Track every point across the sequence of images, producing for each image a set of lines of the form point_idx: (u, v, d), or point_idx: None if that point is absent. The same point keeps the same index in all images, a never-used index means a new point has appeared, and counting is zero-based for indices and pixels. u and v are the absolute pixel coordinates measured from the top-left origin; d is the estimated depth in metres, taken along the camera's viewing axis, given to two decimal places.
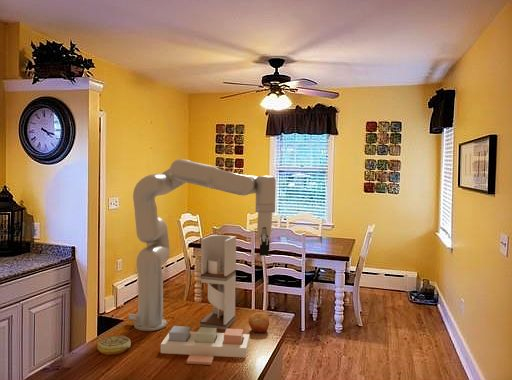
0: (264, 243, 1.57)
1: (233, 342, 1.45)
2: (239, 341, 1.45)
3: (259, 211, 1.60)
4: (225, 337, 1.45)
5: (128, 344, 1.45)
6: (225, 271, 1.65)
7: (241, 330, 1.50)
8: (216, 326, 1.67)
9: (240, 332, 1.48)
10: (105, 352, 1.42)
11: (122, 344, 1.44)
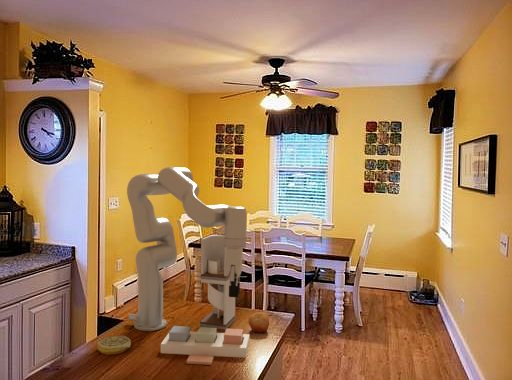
0: (233, 284, 1.44)
1: (233, 342, 1.45)
2: (239, 341, 1.45)
3: (227, 246, 1.44)
4: (225, 337, 1.45)
5: (128, 344, 1.45)
6: None
7: (241, 330, 1.50)
8: (216, 326, 1.67)
9: (240, 332, 1.48)
10: (105, 352, 1.42)
11: (122, 344, 1.44)
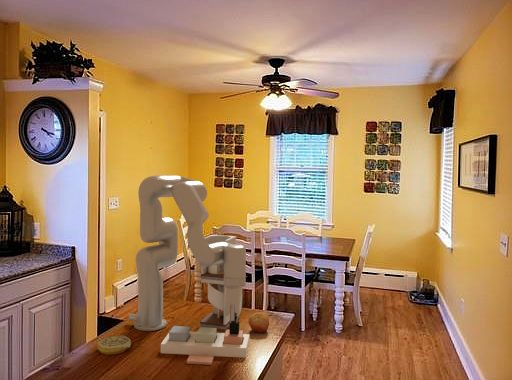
0: (234, 322, 1.45)
1: (233, 343, 1.45)
2: (239, 342, 1.45)
3: (227, 286, 1.44)
4: (225, 338, 1.45)
5: (128, 344, 1.46)
6: None
7: (241, 331, 1.50)
8: (216, 326, 1.67)
9: (240, 333, 1.48)
10: (105, 352, 1.42)
11: (122, 344, 1.44)
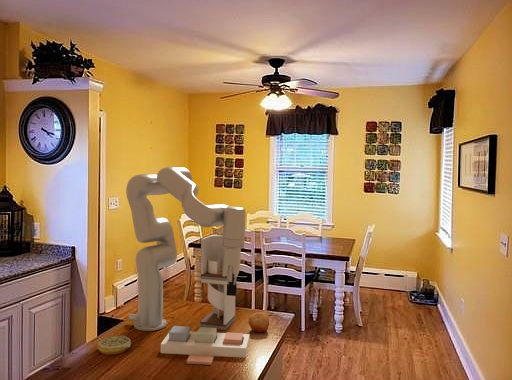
0: (231, 283, 1.46)
1: None
2: None
3: (226, 246, 1.44)
4: (225, 341, 1.45)
5: (128, 344, 1.46)
6: None
7: (241, 334, 1.50)
8: (216, 326, 1.67)
9: (240, 336, 1.48)
10: (105, 352, 1.42)
11: (122, 344, 1.44)
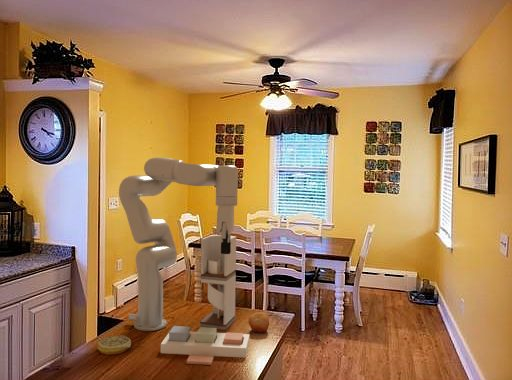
0: (225, 241, 1.47)
1: None
2: None
3: (219, 204, 1.45)
4: (225, 341, 1.45)
5: (128, 344, 1.46)
6: (225, 271, 1.65)
7: (241, 334, 1.50)
8: (216, 326, 1.67)
9: (240, 336, 1.48)
10: (105, 352, 1.42)
11: (122, 344, 1.44)
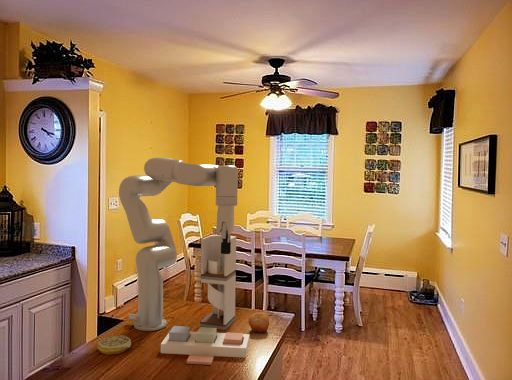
0: (225, 241, 1.47)
1: None
2: None
3: (219, 204, 1.45)
4: (225, 341, 1.45)
5: (128, 344, 1.46)
6: (225, 271, 1.65)
7: (241, 334, 1.50)
8: (216, 326, 1.67)
9: (240, 336, 1.48)
10: (105, 352, 1.42)
11: (122, 344, 1.44)
